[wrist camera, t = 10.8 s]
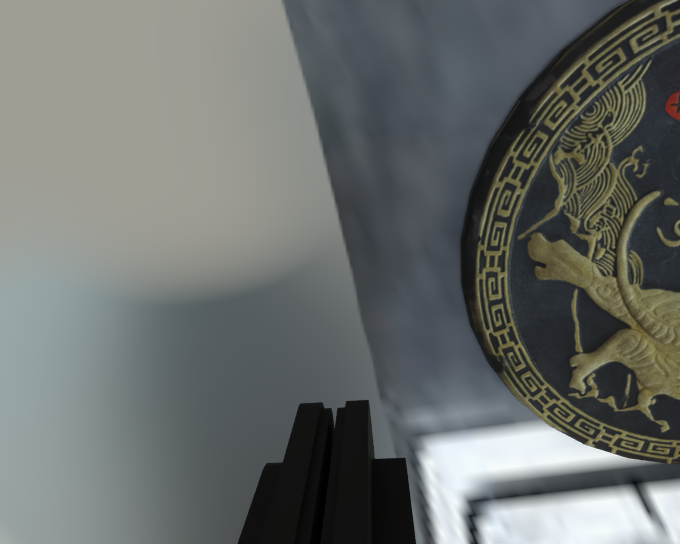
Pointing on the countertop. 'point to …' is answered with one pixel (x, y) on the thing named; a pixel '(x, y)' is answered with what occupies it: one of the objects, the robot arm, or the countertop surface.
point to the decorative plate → (588, 239)
